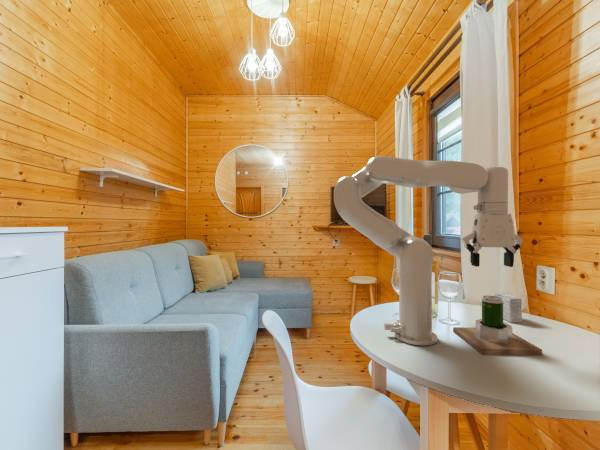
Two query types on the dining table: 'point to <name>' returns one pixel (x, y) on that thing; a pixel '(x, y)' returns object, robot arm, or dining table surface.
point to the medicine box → (511, 308)
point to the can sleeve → (494, 333)
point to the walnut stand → (485, 347)
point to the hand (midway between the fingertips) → (491, 266)
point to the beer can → (492, 311)
